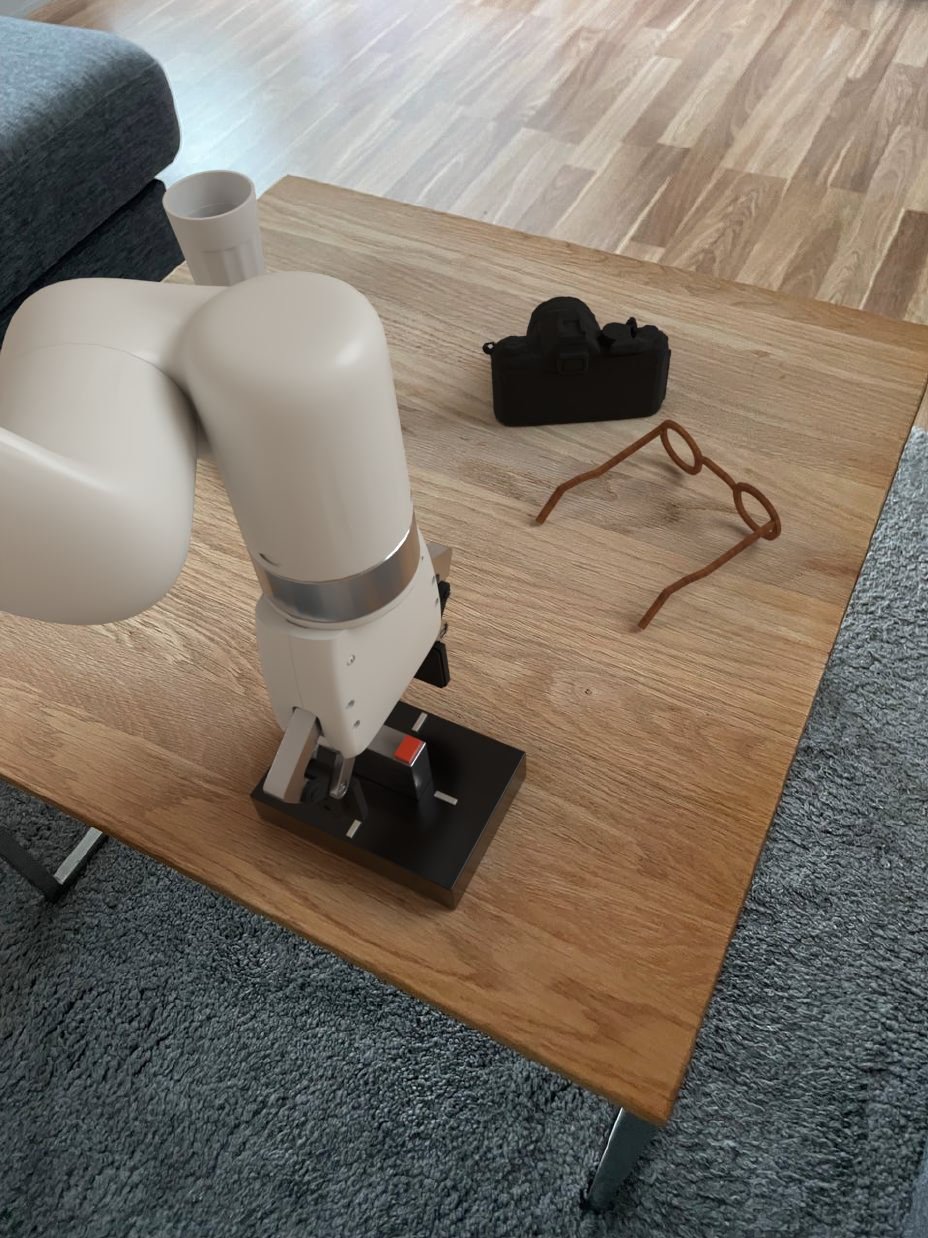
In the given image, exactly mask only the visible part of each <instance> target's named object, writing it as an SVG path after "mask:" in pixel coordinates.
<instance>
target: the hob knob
mask: <svg viewBox="0 0 928 1238" xmlns="http://www.w3.org/2000/svg"><path fill="white" fill-rule="evenodd" d="M352 772H354V773H356V774H359V775H361V776H363V777H365V778H368V779H370V780H372V781H374V782H377V783H379V784H381V785H383V786H386V787H388V788H390V789H392V790H395V791H397V792H399V793H401V794H404V795H406V796H408V797H410V798H413V799H415V800H417V801H418V800H419V799H420V797H421V795H422V794H423V792H424V790H425V789H426V787H427V785H428V783H429V782H430V780H431V778H432V775H431V769H430V764H429V758H428V752H427V746H426V743H425V742H423V741H421V740H419V739H416V738H414V737H412V736H409V735H407V734H404V733H402V732H400V731H397V730H395V729H393V728H390V727H388V726H386V725H382V726H381V728H380V729H379V731H378V732H377V734H376V735H375V737H374V738H373V740H372V741H371V743H370V744H369V745H368V746H367V748H366V749H365V750H364V751H363V752H361V753H360V754H358V755H357V756H356V757H355V761H354V766H353V770H352Z"/></svg>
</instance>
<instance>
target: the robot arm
mask: <svg viewBox="0 0 928 1238" xmlns="http://www.w3.org/2000/svg"><path fill="white" fill-rule="evenodd" d="M390 356H391V355H390V351H389V345H388V341H387V336H386V332H385V328H384V324H383V322H382V320H381V318H380V316H379V314H378V311H377V309H375V307H374V306H373V305H372V303H371V302H370V300H368V298H367V297H366V296H365V295H363V294H362V293H361V292H360V291H359V290H357V289H356V288H355V287H354V286H352V285H351V284H350V283H348V282H346V281H343V280H341V279H339V278H337V277H334V276H330V275H327V274H323V273H318V272H312V271H306V270H305V271H303V270H300V271H299V270H288V271H287V270H285V271H277V272H270V273H267V274H265V275H261V276H257V277H253V278H250V279H248V280H245V281H242V282H240V283H238V284H235V285H233V286H229V287H226V286H200V285H195V284H187V283H185V284H184V283H176V282H175V283H174V282H161V281H160V282H159V281H149V280H140V279H128V278H119V277H116V278H115V277H114V278H113V277H79V278H74V279H73V278H72V279H68V280H63V281H57V282H55V283H53V284H49V285H47V286H44V287H42V288H40V289H39V290H37V291H35V292H34V293H33V294H31V295H29V296H28V297H27V298H26V299H25V300H24V301H23V302H22V303H21V305H20V306H19V307H18V309H17V310H16V311H15V313H14V314H13V316H12V317H11V319H10V321H9V324H8V326H7V329H6V332H5V334H4V338H3V341H2V344H1V349H0V612H3V613H7V614H10V615H13V616H16V617H21V618H22V617H23V618H25V619H30V620H34V621H39V622H44V623H50V624H58V625H59V624H60V625H65V626H101V625H107V624H112V623H118V622H122V621H127V620H128V619H131V618H134V617H136V616H138V615H140V614H143V613H144V612H146V611H148V610H149V609H151V608H153V606H155V605H156V604H157V603H159V602H160V601H161V600H163V598H165V596H166V595H167V594H168V593H169V592H170V591H171V589H172V588H173V587H174V586H175V584H176V583H177V581H178V579H179V577H180V576H181V574H182V571H183V569H184V567H185V564H186V562H187V559H188V555H189V552H190V547H191V535H192V530H193V529H192V528H193V521H194V511H195V498H196V481H197V466H198V460H201V459H202V460H207V461H209V462H210V463H212V464H213V465H214V466H215V467H216V469H217V471H218V473H219V476H220V479H221V482H222V485H223V487H224V490H225V493H226V495H227V498H228V501H229V504H230V506H231V510H232V513H233V514H234V517H235V520H236V523H237V526H238V528H239V531H240V534H241V536H242V540H243V542H244V545H245V547H246V550H247V553H248V555H249V558H250V561H251V564H252V567H253V570H254V572H255V575H256V578H257V581H258V582H259V586H260V589H261V591H262V593H261V595H260V596H259V598H258V600H257V602H256V604H255V607H254V623H255V624H254V627H255V628H254V629H255V630H254V631H255V638H256V639H255V640H256V648H257V649H256V650H257V653H258V654H257V655H258V660H259V665H260V671H261V674H262V679H263V682H264V686H265V689H266V693H267V697H268V700H269V703H270V707H271V709H272V712H273V715H274V718H275V720H276V722H277V724H278V727H279V728H280V730H281V731H282V732H283V733H284V735H283V737H282V740H281V742H280V744H279V746H278V749H277V752H276V754H275V757H274V759H273V761H272V763H273V764H272V763H271V764H272V766H271V769H270V771H269V773H268V776H267V778H266V781H265V783H264V786H263V791H264V793H266V794H268V795H271V796H273V797H275V798H277V799H279V800H281V801H284V802H286V803H298V804H299V803H304V804H306V805H308V806H309V805H312V804H314V803H316V805H317V807H318V808H319V810H321V811H322V812H323V813H325V814H327V815H329V816H331V817H333V818H335V819H339V820H340V819H342V817H343V816H344V815H346V816H348V817H351V818H353V819H355V820H357V821H359V822H364V820H365V818H366V817H367V815H368V808H367V805H366V801H365V798H364V795H363V792H362V789H361V786H360V783H359V780H358V779H356V778H355V777H353V776H351V774H352V770H353V766H354V761H355V757H356V756H357V755H358V754H360V753H361V752H363V751H364V750H365V749H366V748H367V746H368V745H369V744H370V743H371V741H372V740H373V738H374V737H375V735H376V734H377V732H378V731H379V729H380V728H381V726H382V725H383V723H384V722H385V720H386V719H387V717H388V716H389V714H390V713H391V711H392V710H393V708H394V706H395V705H396V703H397V702H398V700H401V697H402V695H403V694H404V693H405V692H406V690H407V688H408V686H409V685H410V683H411V681H412V680H413V679H416V680H418V681H421V682H423V683H426V684H428V685H431V686H433V687H436V688H438V689H443V688H447V686H448V685H449V683H450V681H451V673H450V668H449V667H450V665H449V659H448V653H447V646H446V643H445V642H442V641H443V640H444V639H445V637H446V636H447V633H448V631H449V627H450V623H449V620H445V619H443V616H444V613H445V610H446V605H447V602H448V599H449V598H450V597H451V594H452V592H451V591H452V589H451V583H450V582H448V581H447V578H449V577H450V576H449V575H450V571H451V564H452V563H451V562H452V557H453V548H452V547H451V546H447V545H445V544H442V543H439V542H435V541H433V540H431V541H430V542H428V543H426V541H425V539H424V536H423V534H422V531H421V529H420V527H419V525H418V524H417V519H416V512H415V507H414V502H413V501H414V500H413V493H412V487H411V481H410V476H409V468H408V464H407V456H406V450H405V444H404V437H403V431H402V425H401V420H400V412H399V406H398V400H397V394H396V388H395V381H394V376H393V375H394V374H393V369H392V362H391V357H390ZM319 745H321V746H323V747H325V748H328V749H330V750H332V751H335V752H337V756H336V760H335V764H334V767H333V766H331V765H329V764H327V763H324V762H322V761H320V760H316V756H317V751H318V747H319Z"/></svg>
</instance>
